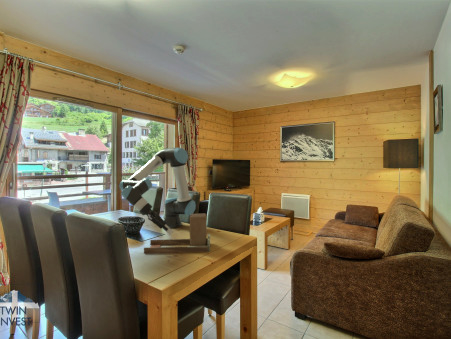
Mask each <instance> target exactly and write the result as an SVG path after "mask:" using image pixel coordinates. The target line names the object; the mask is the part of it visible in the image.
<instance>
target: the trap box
mask: <svg viewBox="0 0 451 339" xmlns="http://www.w3.org/2000/svg"><path fill="white" fill-rule="evenodd" d="M149 242H150V244H149V245H150V246H149V247H144V248H143V254H166V253H167V254H170V253H171V254H172V253H173V254H174V253H209V252H210V251H211V233H208V234H207V246H190V238H174V239H172V238H171V239H150V240H149ZM162 245H166V246H164V247H163V246H162ZM167 245H168V246H167ZM169 245H187V246H169Z"/></svg>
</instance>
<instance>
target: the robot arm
mask: <svg viewBox="0 0 451 339" xmlns="http://www.w3.org/2000/svg"><path fill="white" fill-rule="evenodd" d="M188 159H189V155H188V152H187V150H186V149H184V147H166V148H163V149H161V150H159V151H157V152H156V153H155V154H154V155H152V157H151V159H150V160H148V162H146V164H144V165H143V166H141V167H140V169H138V170H137V171H136V172H135V173H134V174H132V175H131V176H130V177H129V178H127V179H123V180H121V181H120V182H119V185H118V187H119V190H121V193H120V195H121V196H122V198H124V199H125V200H126V201H127V202H128V203H129V204H130V205H131V206H132V207H134V210H137V211H138V212H139V214H141V215H142V216H145V215H146V216H147V220H149V221H151V222H152V223H153V224H154V225H156V226H157V227H158V228H159V229H161V230H163V231H164V232H166V233H167V234H168V235H169V236H171V235H172V234H173V232H174V230H173V229H175V228H179V227H180V228H181V226H182V225H183V223H182V220H181V216H180V215H183V216H184V215H185V216H191V214H195V213H194V212H195V210H196V206H197V205H196V201H195V200H194V199H192V196H191V195H190V192H189V187H188V180H187V175H186V168H185V166H186V165H187V161H188ZM165 164H170V168H172V171H173V174H174V175H173V176H174V182H175V187H176V191H177V196H176V197H169V198H166V199H165V200H164V219H163V218H162V217H161V216H160V215H159V213H158V211H154V210H153V209H152V208H153V206H152V204H151V203H149V202H148V201H147V200H146V199H145V198H144V197H143V195H144V194H146V193H147V192H148V191H149V190H150V189H151V188H152V186H153V183H152V181H151V179H149V178H148V177H149V176H151V174H153V172H154V171H156V170H157V169H158V168H159V167H162V166H163V165H165Z"/></svg>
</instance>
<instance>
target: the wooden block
mask: <svg viewBox="0 0 451 339" xmlns="http://www.w3.org/2000/svg"><path fill="white" fill-rule="evenodd" d="M207 222H208V221H207V214H206V213H203V212H202V213H193V214H191V215H189V239H190V244H189V246H208V244H207V238H208V234H207V232H208V231H207V229H208V228H207V225H208V224H207Z"/></svg>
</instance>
